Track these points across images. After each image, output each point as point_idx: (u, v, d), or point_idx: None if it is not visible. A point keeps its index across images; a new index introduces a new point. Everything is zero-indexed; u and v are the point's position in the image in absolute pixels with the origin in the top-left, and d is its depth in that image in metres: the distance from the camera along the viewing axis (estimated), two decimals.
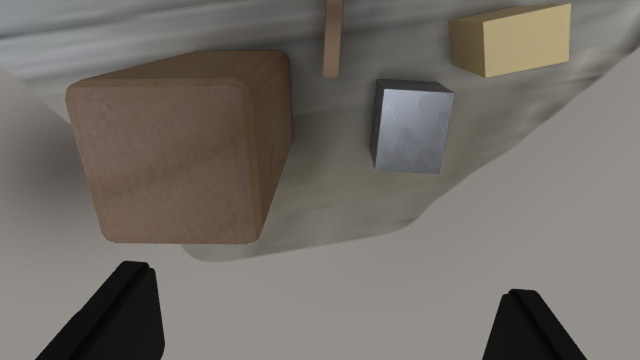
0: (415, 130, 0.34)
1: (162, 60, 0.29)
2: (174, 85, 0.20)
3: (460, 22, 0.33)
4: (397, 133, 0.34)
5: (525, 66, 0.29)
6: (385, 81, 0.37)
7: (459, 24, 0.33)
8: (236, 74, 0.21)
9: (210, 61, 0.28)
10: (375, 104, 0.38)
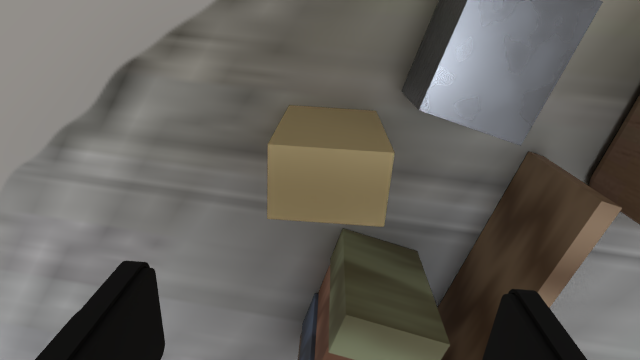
0: (500, 63, 0.19)
1: None
2: None
3: None
4: (530, 64, 0.19)
5: (332, 153, 0.18)
6: None
7: None
8: None
9: None
10: None
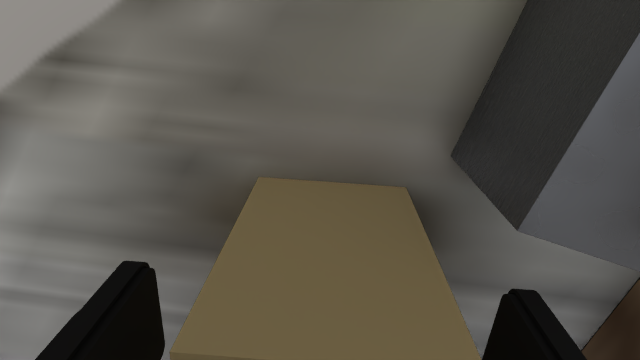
0: None
1: None
2: None
3: None
4: None
5: None
6: None
7: None
8: None
9: None
10: None
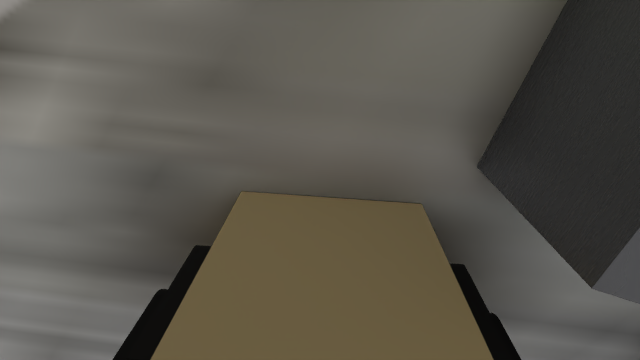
0: None
1: None
2: None
3: None
4: None
5: None
6: None
7: None
8: None
9: None
10: None
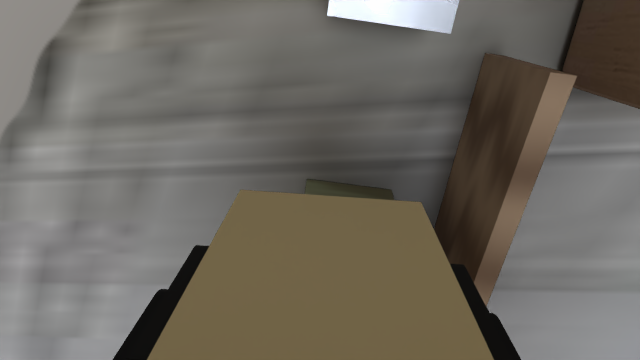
0: None
1: None
2: None
3: None
4: None
5: None
6: None
7: None
8: None
9: None
10: None
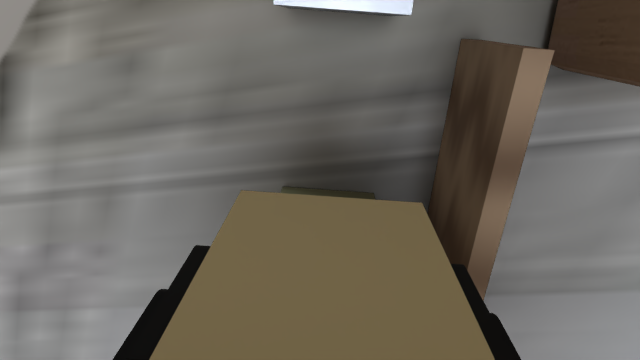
0: None
1: None
2: None
3: None
4: None
5: None
6: None
7: None
8: None
9: None
10: None
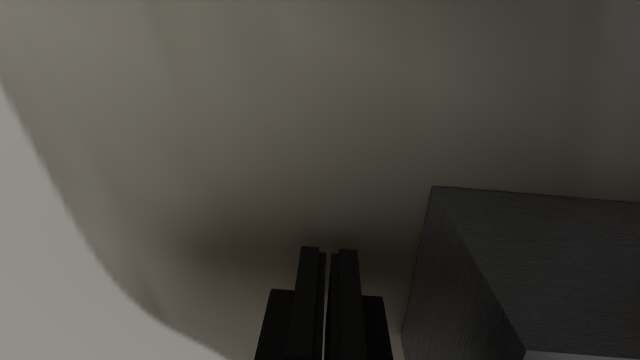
0: None
1: None
2: None
3: None
4: None
5: None
6: None
7: None
8: None
9: None
10: (622, 213, 0.10)
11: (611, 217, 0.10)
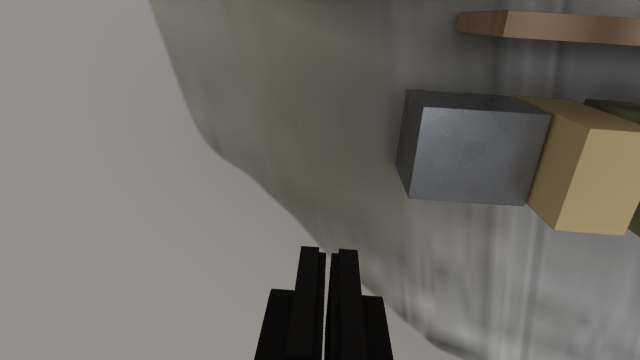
0: (480, 161, 0.24)
1: None
2: None
3: (599, 110, 0.24)
4: (478, 137, 0.23)
5: (576, 181, 0.21)
6: None
7: (593, 109, 0.25)
8: None
9: None
10: (479, 95, 0.27)
11: (473, 96, 0.27)
